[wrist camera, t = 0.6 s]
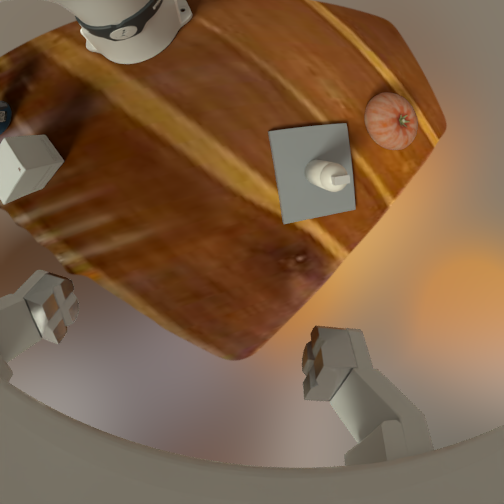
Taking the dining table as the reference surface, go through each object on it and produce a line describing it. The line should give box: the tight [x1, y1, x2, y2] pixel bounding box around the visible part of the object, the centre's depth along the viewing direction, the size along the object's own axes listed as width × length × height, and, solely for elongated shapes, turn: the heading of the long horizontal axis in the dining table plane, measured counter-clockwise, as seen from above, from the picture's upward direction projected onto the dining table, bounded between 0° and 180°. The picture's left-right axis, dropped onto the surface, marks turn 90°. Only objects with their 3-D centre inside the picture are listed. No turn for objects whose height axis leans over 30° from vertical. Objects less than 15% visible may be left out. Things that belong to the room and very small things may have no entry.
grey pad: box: [268, 123, 355, 224], centre depth 46 cm, size 16×14×1 cm
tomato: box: [365, 92, 418, 150], centre depth 41 cm, size 11×11×8 cm
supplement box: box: [0, 135, 64, 204], centre depth 31 cm, size 7×7×13 cm
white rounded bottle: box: [305, 159, 350, 192], centre depth 41 cm, size 4×4×10 cm
